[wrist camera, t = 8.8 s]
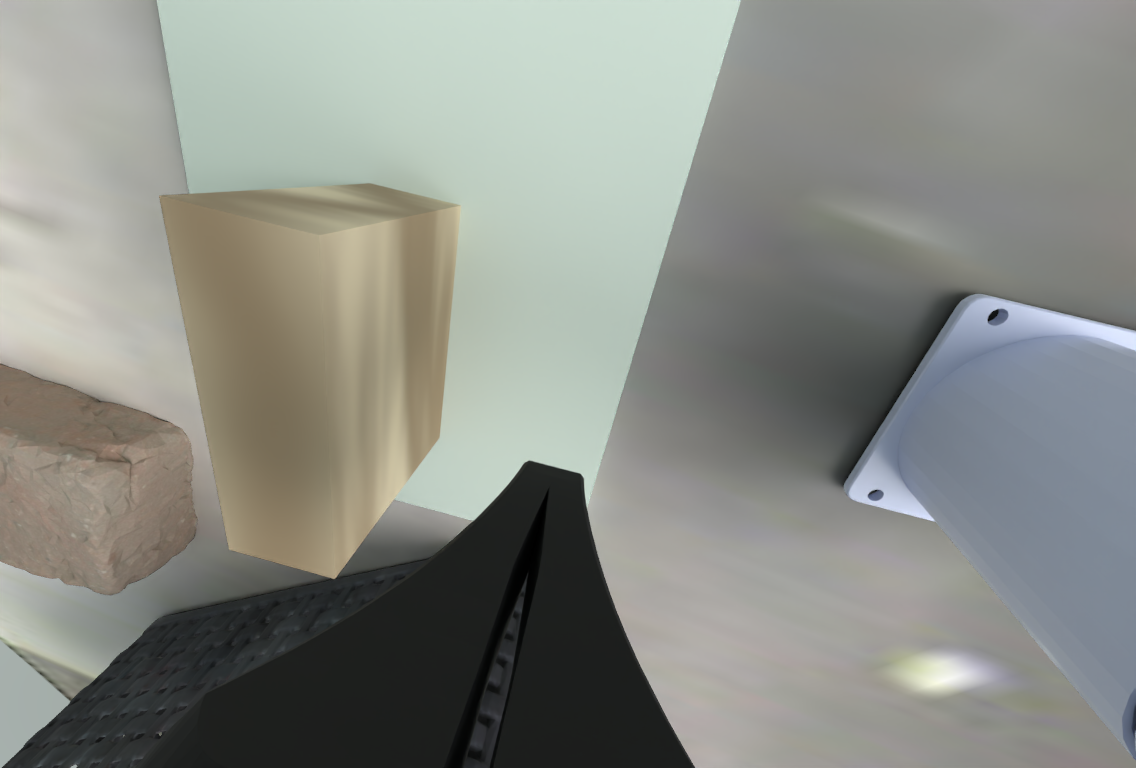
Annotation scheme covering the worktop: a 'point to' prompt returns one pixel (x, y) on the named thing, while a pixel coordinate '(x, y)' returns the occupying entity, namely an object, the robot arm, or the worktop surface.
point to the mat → (477, 180)
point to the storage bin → (222, 672)
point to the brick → (89, 486)
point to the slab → (314, 355)
